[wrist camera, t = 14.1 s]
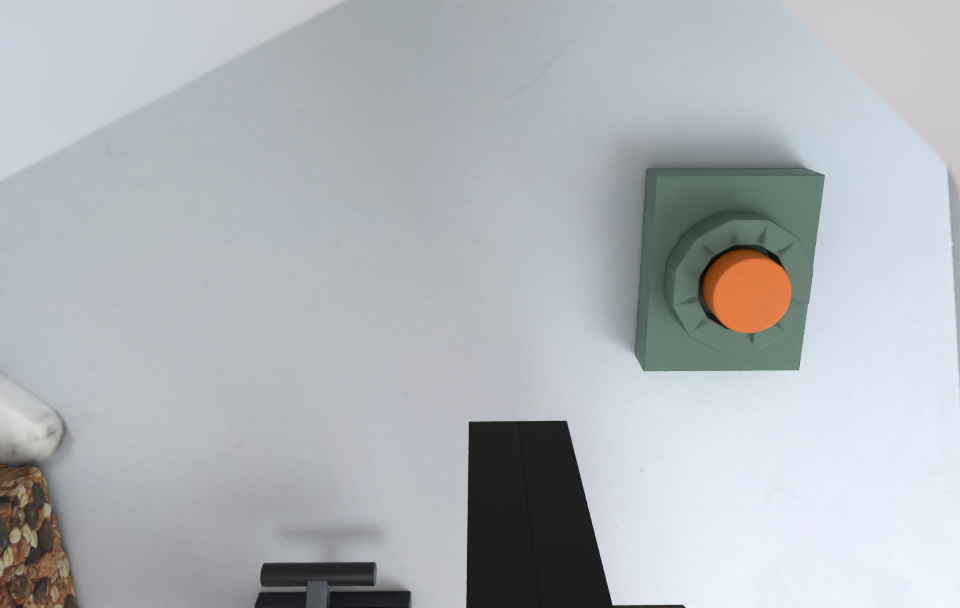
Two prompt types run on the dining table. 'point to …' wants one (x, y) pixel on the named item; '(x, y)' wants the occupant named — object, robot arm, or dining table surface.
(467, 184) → the dining table surface
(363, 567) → the lever
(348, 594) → the bracket
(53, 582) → the bread
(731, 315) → the button
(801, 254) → the control block
